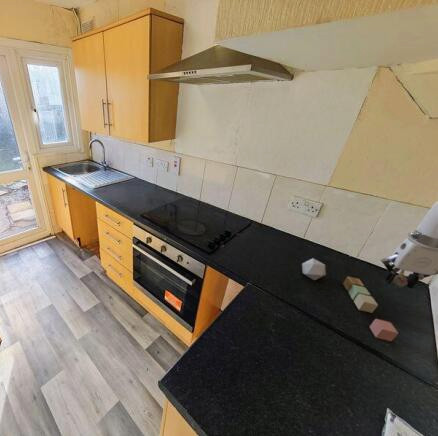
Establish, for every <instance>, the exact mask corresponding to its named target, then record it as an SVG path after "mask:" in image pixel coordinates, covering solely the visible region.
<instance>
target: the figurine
mask: <svg viewBox="0 0 438 436" xmlns="http://www.w3.org/2000/svg"><path fill="white" fill-rule="evenodd" d="M404 274H405V270H400V272H399V273H398V274H395V275H396V276H395V278H394V279H393V280H392V282H391V283H390V284H392V285H395V286H397V287H398V288H403V287H406V286H407V284H408V282H407V281H406V280H407V279H406V278H407V276H406V275H404ZM405 279H406V280H405Z"/></svg>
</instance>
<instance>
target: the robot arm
mask: <svg viewBox="0 0 438 436" xmlns="http://www.w3.org/2000/svg"><path fill="white" fill-rule="evenodd" d="M407 236H408V237H407V238H406V239H404V240H403V241H402V242H401V243H400V244H399V245H398V246H397V247H396V248H395V250H394V251H393V252H392V254H391V255H390V256H387V257H384V258H382V259H381V260H380V262H381V263H382V264H383V265H384V267H385V269H386V271H385V273H384V274H383V276H382V279H383V280H384V282H385V283H386V284H392V283H391V282H392V280H393V279H394V278H395V276H396V275H397V274H396V273H398V272H399V271H402V270H404V272H410V273H409V274H408V275H407V276H406V279H407V280H406V279H405V280H406V281H407V282H408V284H407V285H406V287H408V288H409V289H414V287H415V285H417V283H418V282H419V281H423V280H424V279H425V278H429V277H432V276H437V275H438V200H437V201H436V202H434V203H433V205H432V206H431V207H430V209H428V211H427V213H426V214H425V215H424V217H423V219H422V220H421V221H420V223H419V224H418V226H416V229H414V231H413V232H408V233H407Z"/></svg>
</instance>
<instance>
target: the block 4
mask: <svg viewBox="0 0 438 436" xmlns="http://www.w3.org/2000/svg"><path fill="white" fill-rule="evenodd" d="M369 329H370V330H371V332H372V334H373V336H374V337H375V338H376V339H380V340H384V341H387V342H392V341H393V340H395V338H396V337H397V336H398V334H399V332H398V331H397V329H396V328H395V325H393V323H392V322H390V321H386V320H383V319H378V318H375V319H374V320H373V321H372V323H371V324H370V325H369Z"/></svg>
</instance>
